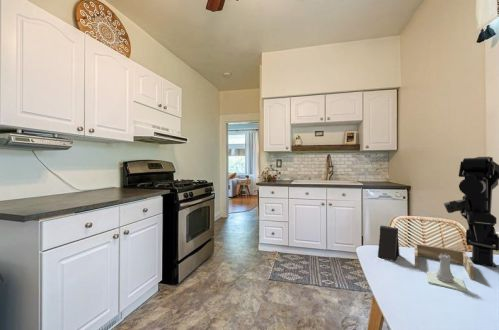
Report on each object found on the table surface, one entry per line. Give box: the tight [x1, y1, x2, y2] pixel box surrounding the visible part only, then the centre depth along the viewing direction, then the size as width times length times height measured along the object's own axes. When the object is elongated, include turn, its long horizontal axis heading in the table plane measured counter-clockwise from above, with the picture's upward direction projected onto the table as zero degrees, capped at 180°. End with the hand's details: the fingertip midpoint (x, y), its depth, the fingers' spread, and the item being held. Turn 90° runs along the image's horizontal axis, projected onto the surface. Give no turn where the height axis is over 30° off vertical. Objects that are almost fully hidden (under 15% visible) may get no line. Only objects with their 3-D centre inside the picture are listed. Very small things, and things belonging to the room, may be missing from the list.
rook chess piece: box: [436, 254, 454, 283], centre depth 73 cm, size 4×4×8 cm
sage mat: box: [426, 271, 468, 293], centre depth 73 cm, size 9×9×1 cm
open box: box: [414, 243, 475, 280], centre depth 85 cm, size 16×16×4 cm
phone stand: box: [377, 225, 400, 262], centre depth 94 cm, size 9×6×12 cm, turn 136°
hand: (476, 238), depth 79 cm, fingers open, 9 cm apart
